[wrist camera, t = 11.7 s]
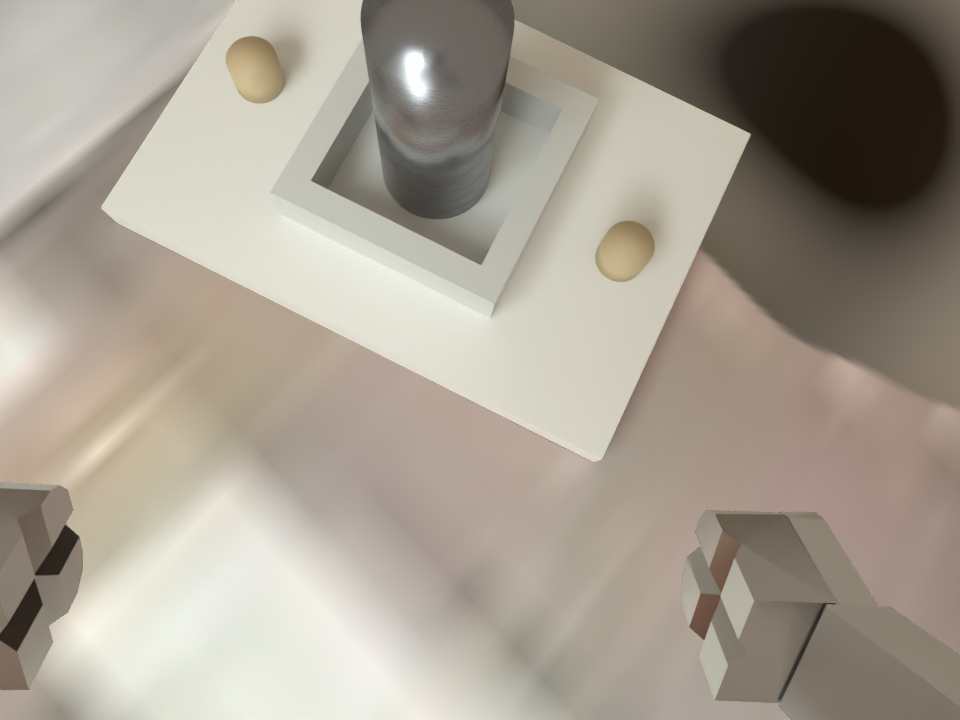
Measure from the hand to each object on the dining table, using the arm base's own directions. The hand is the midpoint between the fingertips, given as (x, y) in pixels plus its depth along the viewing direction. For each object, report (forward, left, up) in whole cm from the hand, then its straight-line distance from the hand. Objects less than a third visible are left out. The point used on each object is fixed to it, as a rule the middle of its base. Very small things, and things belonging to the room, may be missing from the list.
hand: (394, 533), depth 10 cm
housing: (-5, +12, -18) cm, 22 cm away
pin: (-5, +12, -17) cm, 21 cm away
